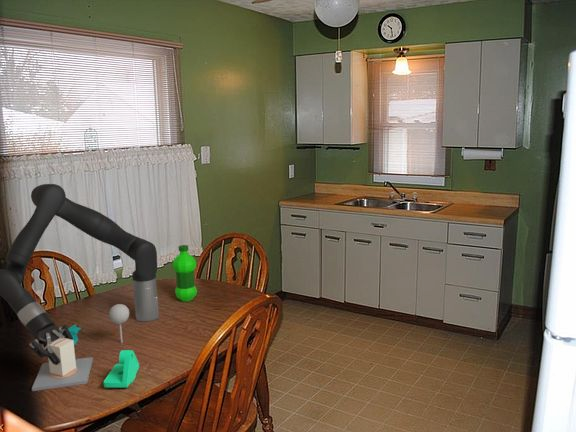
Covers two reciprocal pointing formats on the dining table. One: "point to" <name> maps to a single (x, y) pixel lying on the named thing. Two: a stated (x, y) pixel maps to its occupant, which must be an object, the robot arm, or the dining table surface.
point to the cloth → (74, 333)
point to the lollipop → (119, 315)
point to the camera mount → (123, 370)
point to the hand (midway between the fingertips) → (66, 358)
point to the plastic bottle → (185, 274)
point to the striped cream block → (63, 356)
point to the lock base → (70, 379)
